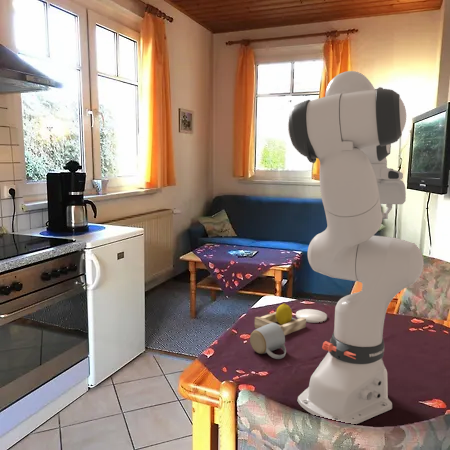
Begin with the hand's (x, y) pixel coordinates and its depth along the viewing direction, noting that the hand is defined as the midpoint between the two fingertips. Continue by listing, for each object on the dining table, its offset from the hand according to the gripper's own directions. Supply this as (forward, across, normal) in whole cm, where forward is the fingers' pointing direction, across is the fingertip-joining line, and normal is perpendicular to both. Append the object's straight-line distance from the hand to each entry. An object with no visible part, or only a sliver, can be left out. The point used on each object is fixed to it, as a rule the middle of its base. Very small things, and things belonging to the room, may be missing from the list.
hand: (368, 218), depth 130 cm
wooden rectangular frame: (+38, -26, +3) cm, 46 cm away
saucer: (+39, -16, +14) cm, 44 cm away
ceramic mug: (+38, -28, -17) cm, 50 cm away
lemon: (+39, -25, +4) cm, 46 cm away
